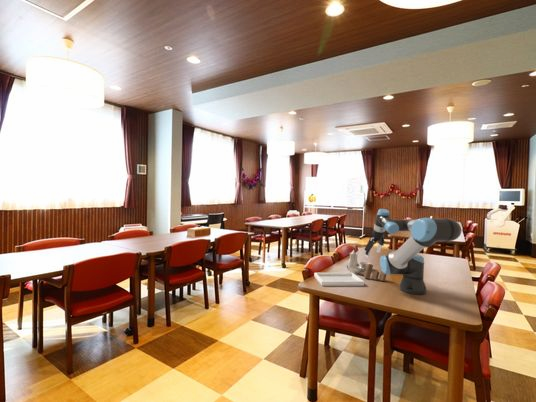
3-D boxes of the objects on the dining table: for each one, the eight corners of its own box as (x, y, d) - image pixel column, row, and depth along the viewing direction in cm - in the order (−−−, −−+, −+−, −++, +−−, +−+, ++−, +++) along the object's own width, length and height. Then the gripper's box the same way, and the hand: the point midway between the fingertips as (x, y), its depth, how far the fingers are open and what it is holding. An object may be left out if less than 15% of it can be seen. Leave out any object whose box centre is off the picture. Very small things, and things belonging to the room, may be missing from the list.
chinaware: (360, 278, 201) (363, 256, 200) (339, 272, 211) (342, 251, 210) (371, 270, 223) (374, 251, 222) (352, 265, 233) (354, 246, 232)
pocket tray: (364, 286, 179) (364, 281, 179) (321, 286, 177) (321, 281, 177) (352, 276, 200) (352, 272, 199) (314, 276, 198) (314, 272, 198)
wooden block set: (385, 284, 191) (388, 270, 193) (380, 281, 186) (383, 267, 188) (361, 277, 205) (365, 264, 207) (356, 274, 199) (360, 261, 201)
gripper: (384, 223, 199) (378, 247, 207) (363, 232, 185) (357, 257, 194) (394, 228, 193) (386, 252, 202) (372, 237, 180) (365, 263, 189)
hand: (372, 255), depth 198 cm, fingers open, 13 cm apart
